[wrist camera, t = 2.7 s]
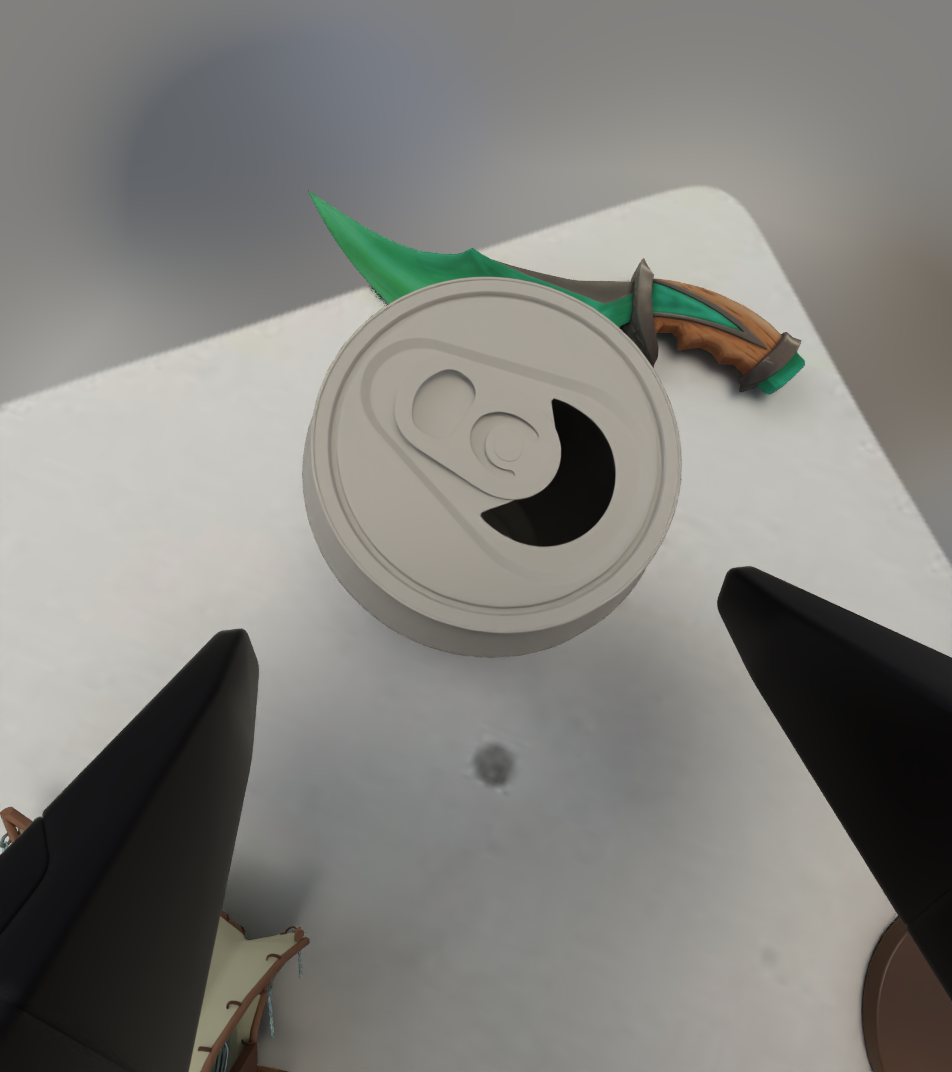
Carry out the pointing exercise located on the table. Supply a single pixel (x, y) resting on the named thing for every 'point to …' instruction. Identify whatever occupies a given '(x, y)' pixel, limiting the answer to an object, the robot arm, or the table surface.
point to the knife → (592, 301)
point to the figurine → (224, 985)
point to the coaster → (905, 1009)
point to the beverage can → (490, 466)
